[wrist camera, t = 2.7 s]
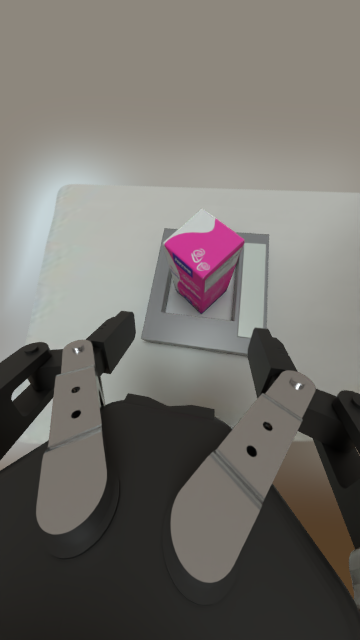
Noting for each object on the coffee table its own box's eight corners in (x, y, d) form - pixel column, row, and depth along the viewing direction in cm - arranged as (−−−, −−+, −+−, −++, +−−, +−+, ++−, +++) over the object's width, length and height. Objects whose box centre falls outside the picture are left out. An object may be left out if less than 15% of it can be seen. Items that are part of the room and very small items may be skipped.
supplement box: (174, 291, 28) (160, 240, 17) (201, 267, 29) (203, 203, 18) (200, 316, 27) (203, 278, 16) (227, 290, 27) (248, 236, 16)
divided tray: (263, 245, 29) (269, 232, 26) (258, 357, 24) (266, 356, 22) (166, 239, 31) (164, 226, 28) (146, 341, 26) (140, 338, 24)
